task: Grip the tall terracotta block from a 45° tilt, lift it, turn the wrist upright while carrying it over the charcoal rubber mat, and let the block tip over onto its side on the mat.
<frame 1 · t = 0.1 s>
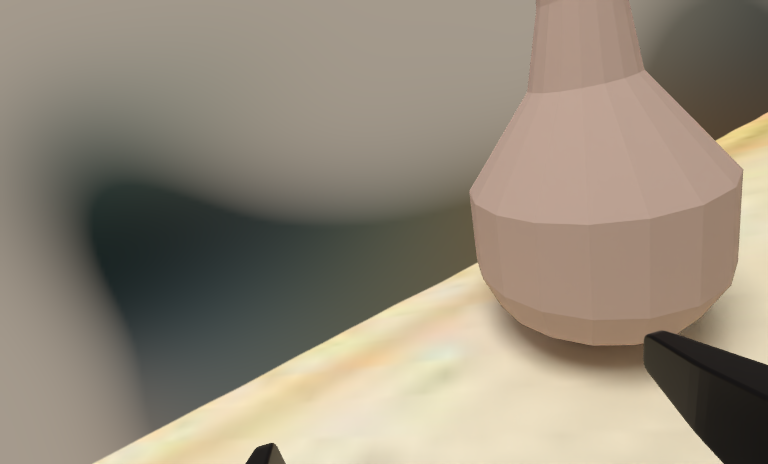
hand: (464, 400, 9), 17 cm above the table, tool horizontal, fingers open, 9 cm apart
vase: (591, 321, 34), on the table
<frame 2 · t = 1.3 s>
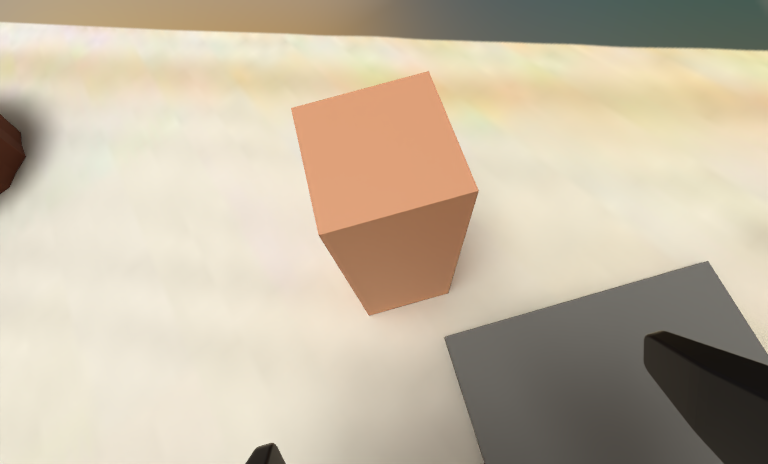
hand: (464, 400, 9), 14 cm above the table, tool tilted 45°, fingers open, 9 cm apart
terracotta block: (397, 266, 25), on the table
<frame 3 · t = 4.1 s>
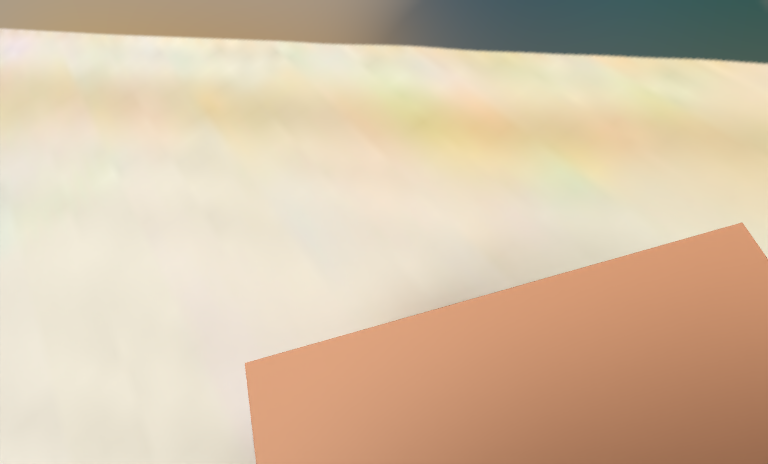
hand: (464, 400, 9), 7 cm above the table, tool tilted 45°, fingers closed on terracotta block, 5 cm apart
terracotta block: (457, 435, 15), on the table, touching gripper
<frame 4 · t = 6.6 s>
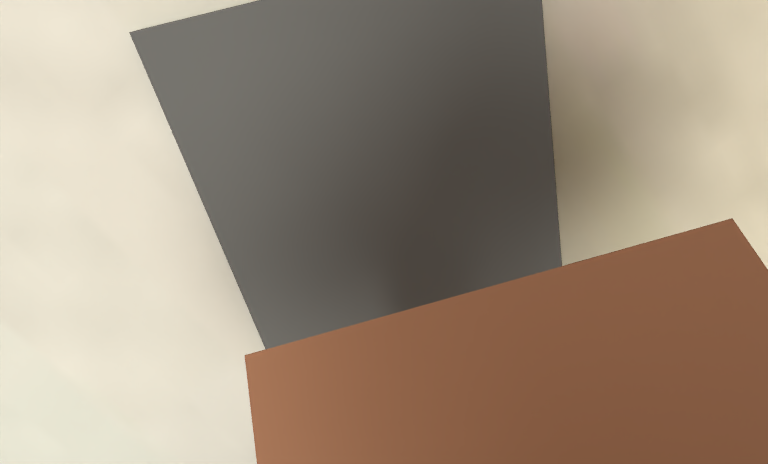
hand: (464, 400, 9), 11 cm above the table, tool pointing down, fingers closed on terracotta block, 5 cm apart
terracotta block: (456, 433, 15), point 7 cm above the table, tilted 44°, touching gripper
charcoal mat: (388, 198, 19), on the table
when the fingers open (7 cm above the table, at t = 8.1 s): terracotta block moves 2 cm and tips over, resting on charcoal mat.
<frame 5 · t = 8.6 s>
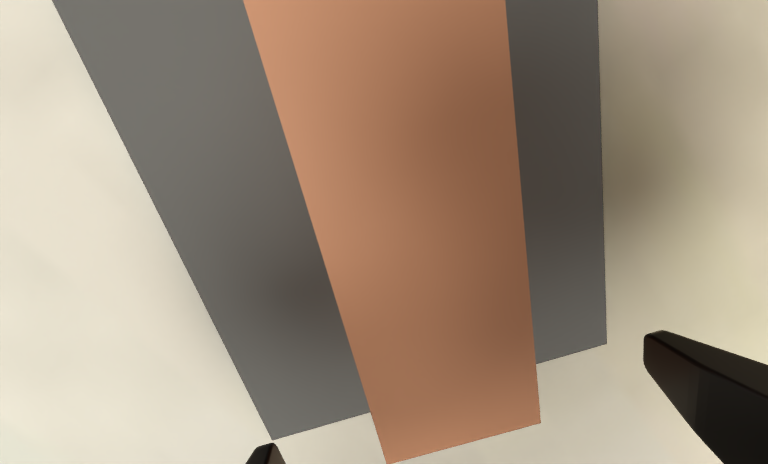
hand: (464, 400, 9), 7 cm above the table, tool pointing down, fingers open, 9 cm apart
terracotta block: (443, 385, 14), point 3 cm above the table, tilted 90°, touching charcoal mat
charcoal mat: (395, 208, 15), on the table
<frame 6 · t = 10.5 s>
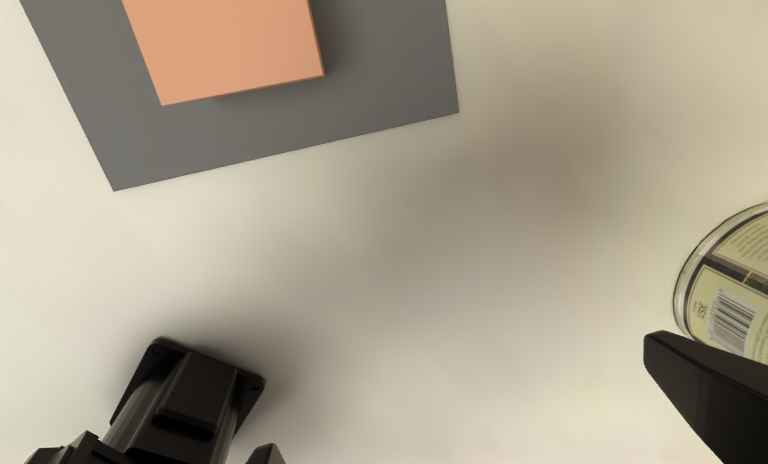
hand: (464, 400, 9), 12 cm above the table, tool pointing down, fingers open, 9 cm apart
terracotta block: (257, 88, 14), point 3 cm above the table, tilted 90°, touching charcoal mat
coffee can: (746, 276, 25), on the table
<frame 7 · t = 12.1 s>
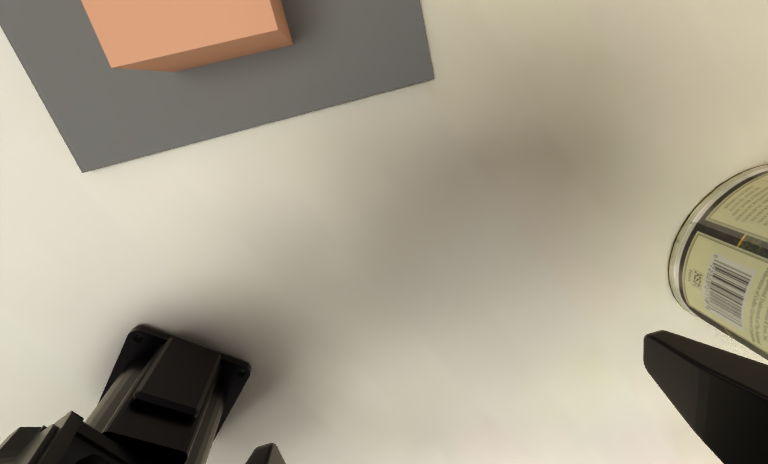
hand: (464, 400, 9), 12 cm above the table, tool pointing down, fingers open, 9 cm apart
terracotta block: (218, 54, 14), point 3 cm above the table, tilted 90°, touching charcoal mat
coffee can: (743, 244, 24), on the table
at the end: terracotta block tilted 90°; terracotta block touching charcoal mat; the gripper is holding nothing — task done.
